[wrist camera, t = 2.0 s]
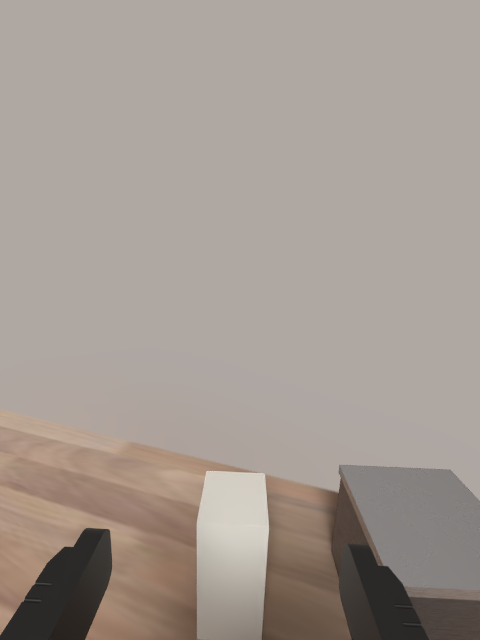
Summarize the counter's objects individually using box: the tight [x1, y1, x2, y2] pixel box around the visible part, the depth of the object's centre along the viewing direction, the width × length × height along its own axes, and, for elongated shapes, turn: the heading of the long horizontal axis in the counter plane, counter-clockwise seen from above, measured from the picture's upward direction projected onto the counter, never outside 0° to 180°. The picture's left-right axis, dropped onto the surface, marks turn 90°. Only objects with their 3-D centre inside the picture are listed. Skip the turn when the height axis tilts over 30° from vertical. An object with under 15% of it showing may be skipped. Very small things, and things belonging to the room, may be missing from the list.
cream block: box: [197, 471, 269, 640], centre depth 24 cm, size 5×5×11 cm
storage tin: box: [332, 465, 480, 640], centre depth 24 cm, size 10×10×10 cm
